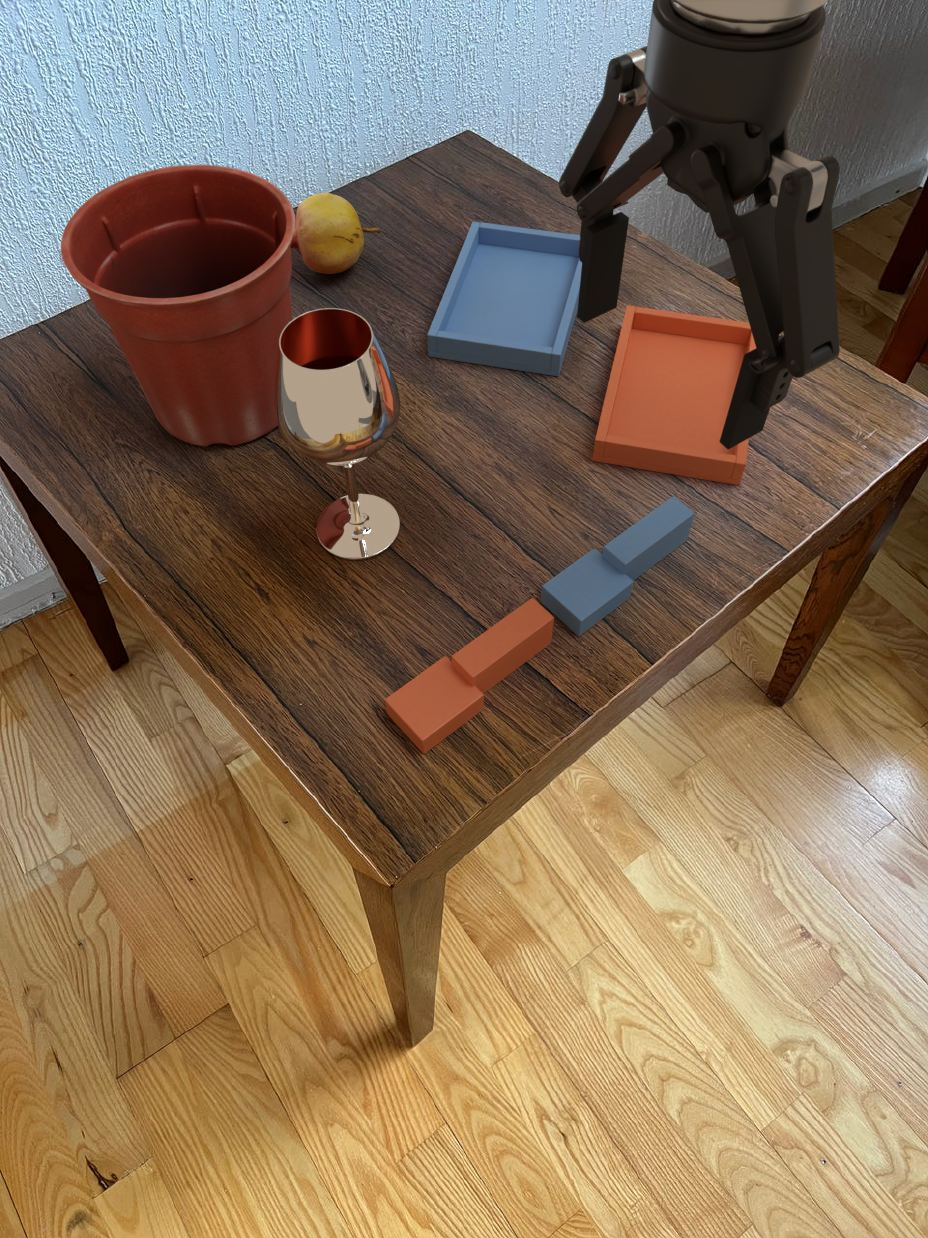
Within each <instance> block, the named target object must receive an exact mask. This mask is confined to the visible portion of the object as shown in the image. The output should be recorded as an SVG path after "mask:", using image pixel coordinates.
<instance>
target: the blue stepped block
mask: <svg viewBox="0 0 928 1238" xmlns="http://www.w3.org/2000/svg"><path fill="white" fill-rule="evenodd" d="M695 516H696V512H695V511H694V510H692V509H691V508H690V507H689V506H687V505H685V503H683V502H682V501H680V500H679V499H678V498H677V497H675V496H674V495H672V496H670V498H668V499H667V500H665V501H664V502H662V503H661V504H660V505H658V506H657V507H656V508H654V509H653V510H651V511H650V512H649V513H647V514H646V515H644V517H642V518H641V519H639V520H637V521H636V522H635V523H634V524H632V525H631V526H629V527H628V528H626V529H625V530H624V531H623V532H621V533H619V534H618V535H617V536H616V537H615V538H613V539H611V540H610V541H608V543H606V544H605V545H603V547H602V553H601V552H600V551H599V550H597V548H595V547H594V548H592V549H591V550H590V551H588V552H587V553H585V554H584V555H583V556H581V557H580V558H578V559H577V560H576V561H574V562H573V563H572V564H570V565H569V566H567V567H566V568H565V569H563V570H562V571H560V572H559V573H558V574H556V575H555V576H554V577H552V578H551V579H549V580H548V581H546V582H545V583H544V584H542V586H541V594H540V603H541V604H542V605H543V606H545V608H546V609H548V610H549V611H550V612H551V613H552V614H553V615H555V616H556V617H557V619H558V620H560V621H561V623H563V624H564V625H565V626H566V627H567V628H568V629H570V631H572V632H573V633H574V635H576V636H578V637H580V636H582V635H584V633H586V632H587V631H588V630H590V629H591V628H593V627H594V626H595V625H597V624H598V623H599V622H600V621H601V620H603V619H604V618H606V617H607V616H609V615H610V614H611V613H612V612H613V611H615V610H616V609H617V608H619V607H620V606H621V605H623V604H624V603H625V602H626V601H628V600H629V599H630V598H631V597H632V593H633V589H634V583H635V580H636V579H638V578H639V577H640V576H643V574H645V573H646V572H647V571H648V570H650V569H651V568H653V567H654V566H655V565H656V564H658V563H659V562H661V561H662V560H663V559H665V558H666V557H667V556H668V555H670V554H671V553H672V552H674V551H676V549H678V548H679V547H681V546H682V545H684V543H686V542H687V541H688V539H689V536H690V532H691V529H692V526H693V522H694V518H695Z"/></svg>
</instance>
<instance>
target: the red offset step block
mask: <svg viewBox="0 0 928 1238" xmlns="http://www.w3.org/2000/svg"><path fill="white" fill-rule="evenodd" d="M554 622H555V617H554V616H553V615H552V614H551V613H550V612H549V611H548V610H547V609H545V607H543V606H542V605H541V604H540V603H539V602H538V601H537V600H536V599H535V598H533V597H531V598H530V599H528V600H527V601H525V602H524V603H523V604H521V605H520V606H519V607H517V608H515V610H513V611H512V612H510V613H509V614H507V615H506V616H505V617H503V618H502V619H500V620H499V621H498V622H497V623H495V624H494V625H492V626H491V627H490V628H488V629H487V630H485V631H484V632H483V633H481V634H480V635H478V636H477V637H476V638H474V639H473V640H472V641H470V642H469V643H468V644H465V646H463V647H462V648H461V649H459V650H458V651H456V652H455V653H454V654H452V655H451V660H450V658H449V657H448V656H447V655H444V656H443V657H441V658H440V659H439V660H437V661H436V662H434V663H433V664H432V665H430V666H429V667H427V668H426V669H424V671H422V672H420V673H419V674H418V675H416V676H415V677H414V678H412V679H411V680H410V681H408V682H406V683H405V684H404V685H403V686H401V687H400V688H398V689H397V690H396V691H394V692H393V693H392V694H390V695H389V696H387V697H386V698H384V703H385V710H386V714H387V716H388V717H389V718H390V719H391V720H392V721H393V722H394V723H395V725H397V727H398V728H399V729H400V730H401V731H402V732H403V733H404V734H405V736H407V738H408V739H409V740H410V741H411V742H412V743H413V744H414V746H416V748H417V749H418V750H419V751H420V752H421V753H422V754H423V755H425V754H427V753H428V752H429V751H431V750H432V749H433V748H434V747H436V746H437V745H438V744H440V743H441V742H443V741H444V740H445V739H447V738H448V737H449V736H450V735H452V734H453V733H454V732H456V731H457V730H458V729H459V728H461V727H462V726H464V725H465V724H466V723H467V722H469V721H470V720H471V719H473V718H474V717H475V716H477V715H478V714H479V713H481V712H482V711H483V710H485V694H486V693H487V692H488V691H489V690H491V689H492V688H493V687H495V686H496V685H497V684H499V683H500V682H501V681H503V680H504V679H506V678H507V677H508V676H509V675H511V674H512V673H513V672H515V671H516V670H518V669H519V668H520V667H521V666H523V665H524V664H526V663H527V662H528V661H530V660H532V658H533V657H534V656H536V655H538V654H539V653H540V652H541V651H542V650H544V649H545V648H547V647H548V646H549V645H551V644H552V643H553V642H552V641H553V631H554V624H555V623H554Z"/></svg>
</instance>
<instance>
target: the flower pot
mask: <svg viewBox="0 0 928 1238" xmlns="http://www.w3.org/2000/svg"><path fill="white" fill-rule="evenodd" d="M295 214H296V213H295V211H294V207H293V205H292V202H291V201H290V199H289V198H288V197H287V195H286V194H285V193H284V192H283V191H282V189H280V188H279V187H277V186H276V185H275V184H274V183H272V182H271V181H269V180H267V179H265V178H263V177H261V176H259V175H257V174H254V173H252V172H249V171H246V170H242V169H239V168H234V167H228V166H224V165H223V166H222V165H217V164H216V165H213V164H183V165H182V164H181V165H171V166H165V167H160V168H159V167H158V168H155V169H150V170H147V171H141V172H139V173H136V174H133V175H130V176H128V177H125V178H124V179H121V180H119V181H117V182H115V183H113V184H111V185H109V186H107V187H105V188H103V189H102V190H100V191H98V192H97V193H94V195H92V196H91V197H89V198H88V199H87V200H86V201H85V202H84V203H82V205H81V206H80V207H79V208H78V209H77V210H76V211H75V212H74V213H73V214H72V216H71V217H70V219H69V220H68V222H67V224H66V225H65V227H64V230H63V232H62V235H61V240H60V255H61V260H62V262H63V264H64V266H65V268H66V269H67V271H68V273H69V274H70V276H72V278H73V279H74V280H75V281H76V282H77V284H79V285H80V286H81V287H82V288H84V290H85V292H86V293H87V295H88V297H89V299H90V301H91V302H92V304H93V306H94V308H95V309H96V311H97V313H98V314H99V315H100V316H101V317H102V318H103V320H104V321H105V322H107V324H108V326H109V328H110V331H112V334H113V335H114V338H115V339H116V341H117V343H118V346H119V347H120V350H121V351H122V353H123V355H124V357H125V359H126V360H127V363H128V365H129V366H130V369H131V370H132V372H133V374H134V376H135V379H136V380H137V382H138V384H139V386H140V388H141V390H142V392H143V394H144V396H145V398H146V400H147V402H148V404H149V407H150V408H151V410H152V411H153V414H154V415H155V418H156V420H157V421H158V423H159V425H161V426H162V428H163V429H164V430H165V431H166V432H167V433H169V434H170V435H172V437H175V438H176V439H178V440H180V441H183V442H185V443H188V444H190V445H194V446H199V447H209V446H210V445H212V444H225V445H229V446H231V447H232V446H233V447H234V446H238V445H242V444H246V443H250V442H252V441H255V440H257V439H259V438H261V437H263V436H265V435H266V434H268V433H270V432H272V431H273V430H274V429H276V428H277V427H279V426H278V423H277V420H276V416H275V408H274V388H275V375H276V365H277V356H278V347H279V339H280V335H281V333H282V331H283V329H284V328H285V327H286V325H287V324H288V323H289V322H291V321H292V320H293V313H292V311H293V310H292V302H291V301H292V300H291V287H290V282H291V278H292V273H293V262H292V250H291V249H292V248H291V247H290V245H291V243H292V240H293V236H294V231H295V227H296V215H295Z"/></svg>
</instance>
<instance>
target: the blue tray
mask: <svg viewBox="0 0 928 1238" xmlns="http://www.w3.org/2000/svg"><path fill="white" fill-rule="evenodd" d="M579 242H580V234H574V233H573V234H572V233H567V232H566V233H565V232H557V231H551V230H550V231H549V230H543V229H535V228H527V227H520V226H514V225H513V226H512V225H505V224H498V223H489V222H483V221H482V222H481V221H472V222H471V224H470V228H469V230H468V232H467V235H466V237H465V240H464V242H463V245H462V247H461V250H460V251H459V255H458V257H457V259H456V262H455V265H454V267H453V270H452V272H451V274H450V276H449V280H448V282H447V285H446V287H445V289H444V292H443V294H442V297H441V299H440V302H439V305H438V307H437V310H436V312H435V315H434V317H433V320H432V322H431V324H430V327H429V330H428V332H427V334H426V339H427V350H428V351H427V354H428V355H427V356H428V357H429V358H436V359H442V360H448V361H455V362H456V361H457V362H463V363H467V364H468V363H469V364H474V365H481V366H488V367H493V368H494V367H495V368H501V369H508V370H513V371H519V372H520V371H521V372H527V373H533V374H539V375H545V376H546V375H547V376H553V377H560V374H561V371H562V367H563V363H564V360H565V356H566V352H567V349H568V346H569V341H570V338H571V334H572V331H573V327H574V324H575V320H576V318H577V310H578V300H579V290H580V280H581V270H582V262H581V261H580V259H579V245H580V243H579Z"/></svg>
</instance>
